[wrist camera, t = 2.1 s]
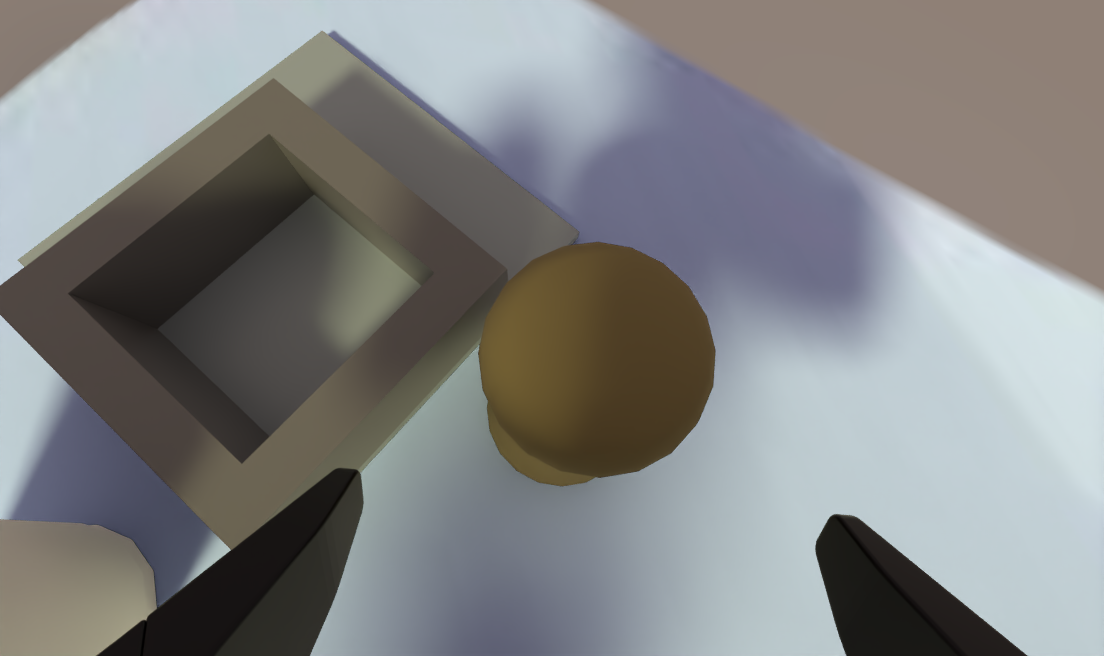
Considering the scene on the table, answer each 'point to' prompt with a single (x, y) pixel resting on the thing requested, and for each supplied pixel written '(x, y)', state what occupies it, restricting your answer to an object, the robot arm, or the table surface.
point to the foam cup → (69, 588)
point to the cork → (594, 364)
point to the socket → (279, 285)
